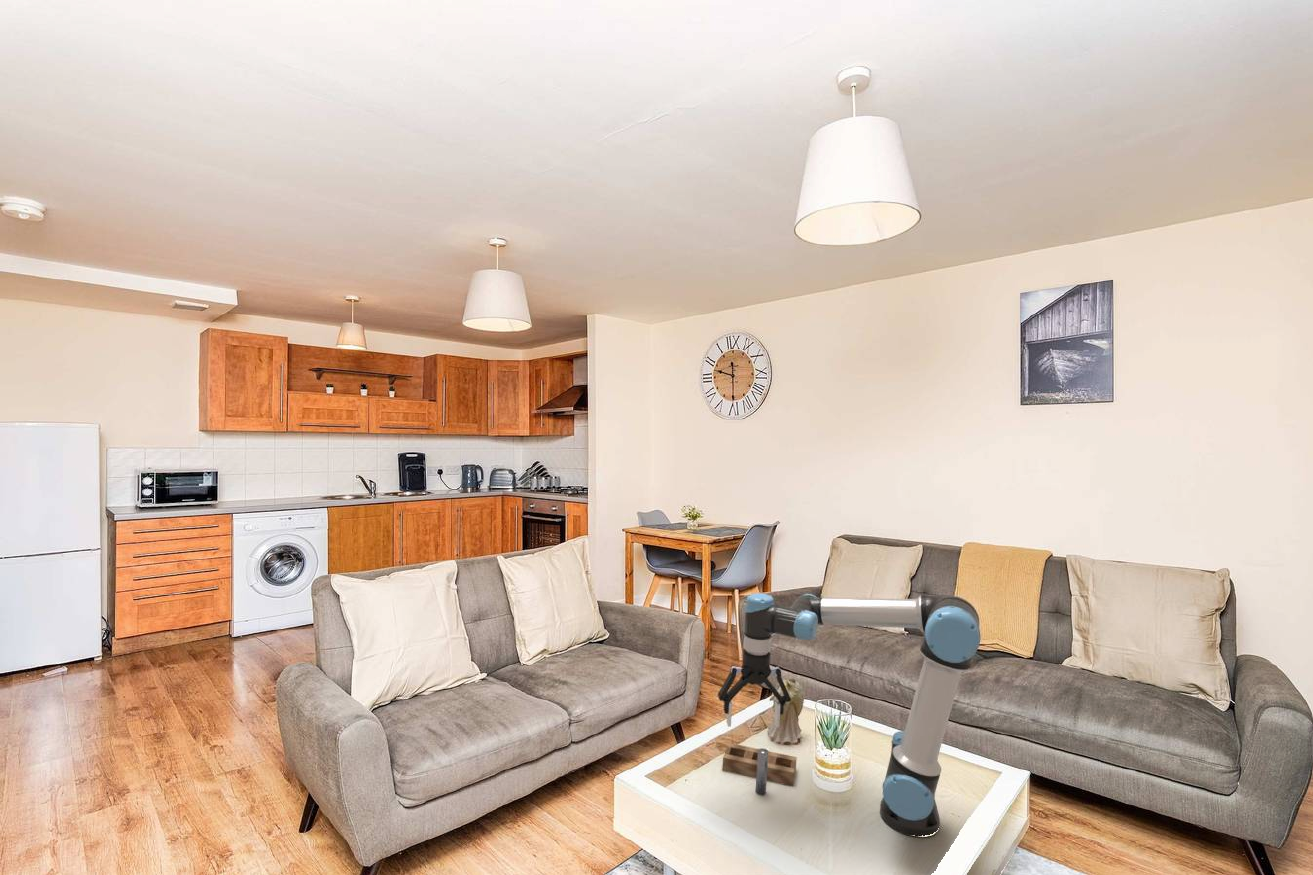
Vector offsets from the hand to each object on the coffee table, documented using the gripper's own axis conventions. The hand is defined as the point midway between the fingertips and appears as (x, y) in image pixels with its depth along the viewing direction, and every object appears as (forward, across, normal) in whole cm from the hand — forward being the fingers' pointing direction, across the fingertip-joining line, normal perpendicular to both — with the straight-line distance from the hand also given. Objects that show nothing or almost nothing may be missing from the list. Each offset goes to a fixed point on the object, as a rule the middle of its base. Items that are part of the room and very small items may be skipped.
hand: (752, 724), depth 181 cm
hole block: (+21, -6, -14) cm, 26 cm away
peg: (+21, -4, -3) cm, 22 cm away
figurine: (+21, -19, -33) cm, 44 cm away
